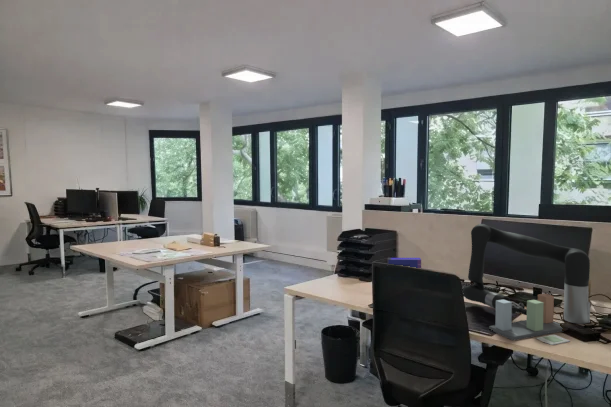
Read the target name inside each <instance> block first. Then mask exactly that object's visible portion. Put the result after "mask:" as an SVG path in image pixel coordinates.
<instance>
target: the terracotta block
mask: <svg viewBox="0 0 611 407" xmlns="http://www.w3.org/2000/svg"><path fill="white" fill-rule="evenodd" d="M554 298H555V296H554V295H551V294H548V293H540V294H537V301H540V302H543V303H544V305H543V323H552V322H553V321H554V316H555V315H554V306H555V300H554Z"/></svg>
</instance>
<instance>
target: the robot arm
mask: <svg viewBox="0 0 611 407" xmlns="http://www.w3.org/2000/svg"><path fill="white" fill-rule="evenodd" d="M470 231H471V232H470V235H471V236H470V237H471V239H470V240H471V254H470V261H469V267H468V273H467V274H468V275H467V277H468V278H467V279H468V281H469V282H471V283H472V282H473V285H465V286H464V288H462V294H463V293H464V295H463V297H464V298H465V299H467V300H469V301H471V302H477V303H481V304H484V305H486V306H488V307H490V308H492V309H494V310H496V300H503V299H504V300H507V301H510V302H512V314H522V315H524V316H527V308H525V307H526V306H525V305H524V303H523V302H519V303H516V302H515V301H512V300H511V299H510V297H508V296H507V295H503V294H500V293H498V292H495V291H494V292H493V291H490V290H488V289H485V286H484V280H483V279H484V272H485V254H486V248H487V244H488V243H491V244H496V245H500V246H503V247H504V248H506V249H508V250H510V251H513V252H515V253H518V254H521V255H525V256H528V257H532V258H537V259H538V258H539V259H548V260H553V261H556V262H559V263H562V264H564V284H563V285H564V287H563V288H564V289H563V291H564V293H563V294H564V295H563V296H564V297H563V319H564V321H566V322H569V323H571V324H572V323H573V324H579V325H585V324H590V323H591V302H590V301H589V282H590V270H591V269H590V267H591V263H590V260H591V259H590V258H589V255H588V254H587V253H586V252H585V251H584V250H582V249H580V248H573V247H567V246H562V245H558V244H554V243H552V242H548V241H545V240H542V239H539V238H536V237H533V236H529V235H525V234H521V233H517V232H510V231H505V230H501V229H498V228H497V227H496V228H495V227H492V226H490V225H488V224H484V223H478V224H477V225H475V226H474V227H472V229H471V230H470Z"/></svg>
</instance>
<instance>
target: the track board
mask: <svg viewBox="0 0 611 407" xmlns="http://www.w3.org/2000/svg"><path fill="white" fill-rule="evenodd" d="M560 324H561V323H560V322H556V321H554V320H553V322H552V323H543V330H540V331H533V330H531V329H528V328H527V319H524V320H518V321H517V320H516V321H511V330H505V331H502V330H500V329H498V328H496V327H495V324H493V325H489V326H488V330H489V329H491V330H490V331H492V330H493V331H492V332H493V333H496V334H497V335H500V336H502V337H505V338H506V339H509V340H511V341H517V340H522V339H523V340H524V339H528V338H533V337H541V336H543V335H544V336H546V335H552V334H555V333H562V332H563V331H562V329H563V328H562V327H561V326H560Z"/></svg>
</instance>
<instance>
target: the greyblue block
mask: <svg viewBox="0 0 611 407" xmlns="http://www.w3.org/2000/svg"><path fill="white" fill-rule="evenodd" d="M512 316H513V313H512V302H510V301H507V300H504V299H503V300H496V309H495V321H494V322H495V324H494V325H495V327H496V328H498V329H500V330H502V331H505V330H511V322H512V318H513V317H512Z"/></svg>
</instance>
